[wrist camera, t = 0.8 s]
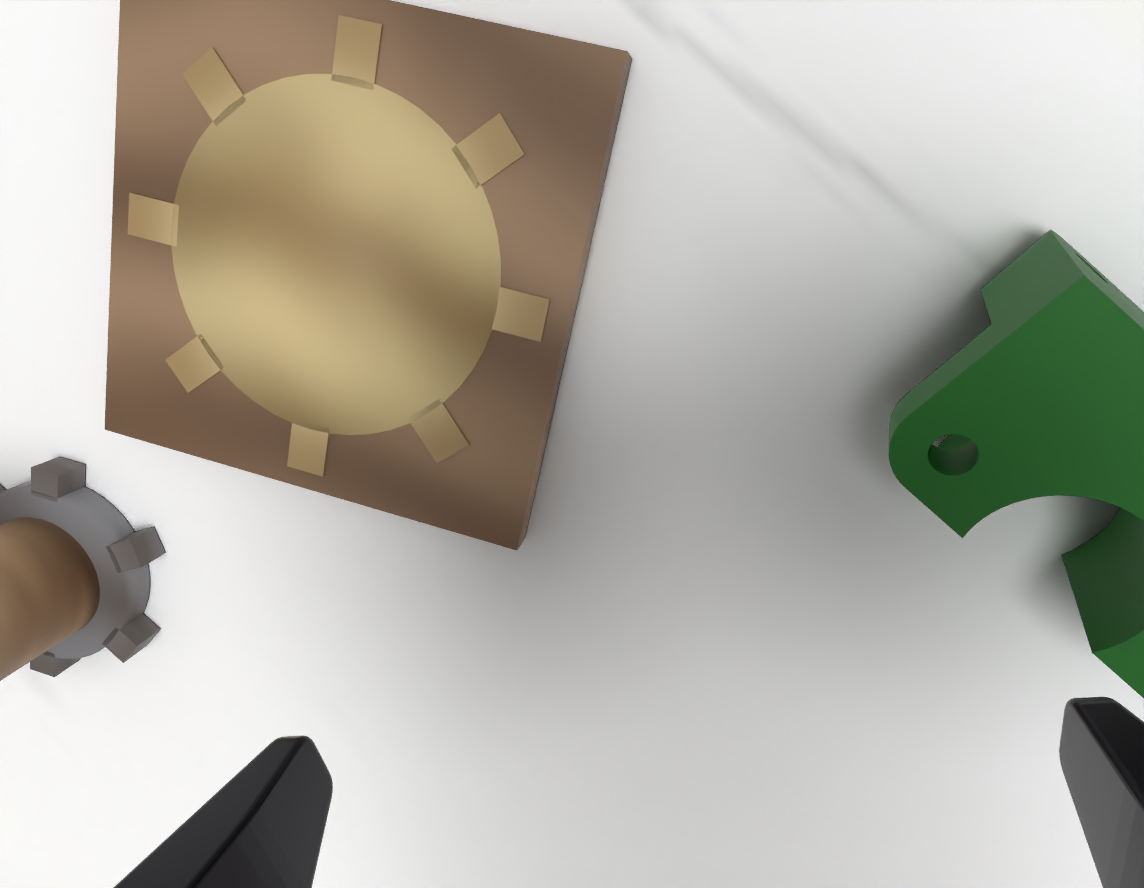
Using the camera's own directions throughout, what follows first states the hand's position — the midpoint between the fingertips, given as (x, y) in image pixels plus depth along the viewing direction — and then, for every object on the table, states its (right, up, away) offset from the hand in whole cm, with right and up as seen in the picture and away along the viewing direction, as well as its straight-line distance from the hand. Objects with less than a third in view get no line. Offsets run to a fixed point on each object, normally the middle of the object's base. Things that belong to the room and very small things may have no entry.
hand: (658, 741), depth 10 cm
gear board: (-8, +9, +14) cm, 18 cm away
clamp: (+13, +4, +12) cm, 18 cm away
